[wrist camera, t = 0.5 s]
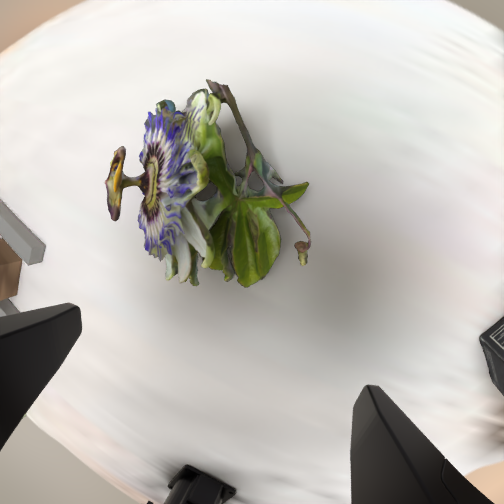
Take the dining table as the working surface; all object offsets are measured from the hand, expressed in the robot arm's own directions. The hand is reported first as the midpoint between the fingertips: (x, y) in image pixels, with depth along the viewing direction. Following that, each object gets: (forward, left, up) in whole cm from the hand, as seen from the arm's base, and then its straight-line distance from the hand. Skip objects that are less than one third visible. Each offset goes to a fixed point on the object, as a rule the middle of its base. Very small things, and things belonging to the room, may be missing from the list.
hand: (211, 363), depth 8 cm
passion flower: (+3, +6, -14) cm, 16 cm away
